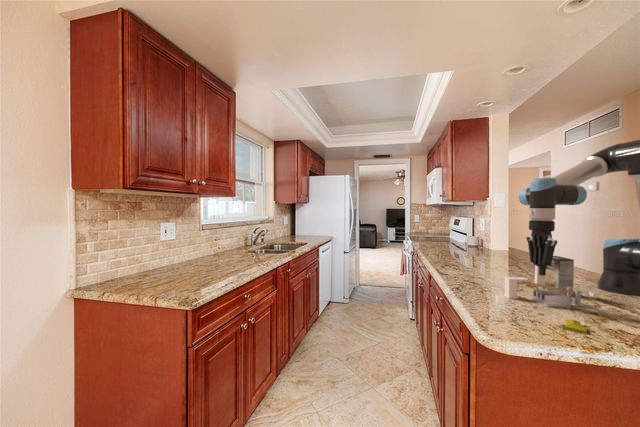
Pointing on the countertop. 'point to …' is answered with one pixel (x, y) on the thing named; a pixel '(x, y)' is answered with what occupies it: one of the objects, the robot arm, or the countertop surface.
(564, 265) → the coffee box
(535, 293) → the heatsink
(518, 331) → the countertop surface
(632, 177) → the robot arm
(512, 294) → the cream l-shaped bracket
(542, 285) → the strap
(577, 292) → the board
